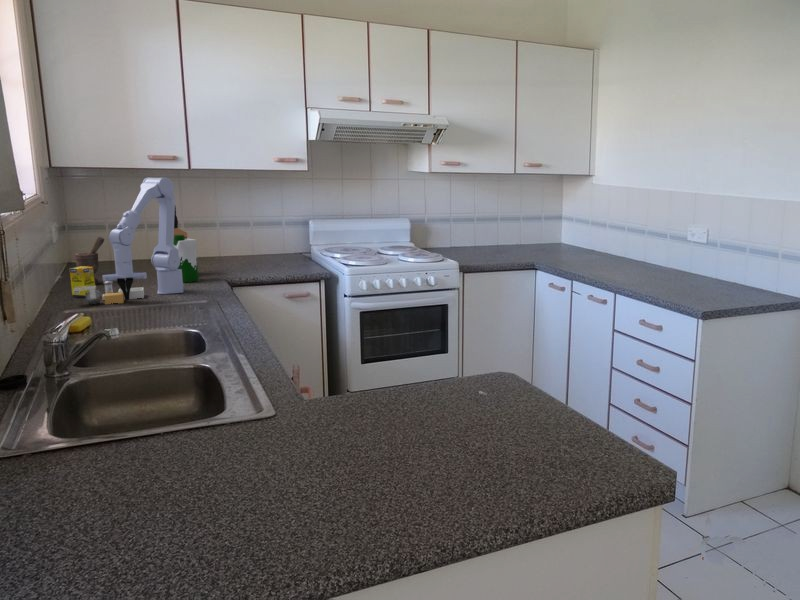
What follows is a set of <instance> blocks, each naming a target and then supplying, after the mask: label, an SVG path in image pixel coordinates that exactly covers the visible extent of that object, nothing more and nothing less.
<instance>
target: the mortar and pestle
mask: <svg viewBox="0 0 800 600" xmlns="http://www.w3.org/2000/svg"><path fill="white" fill-rule="evenodd" d="M104 242H105V238H104V237H101V236H98V237H97V238H96V239H95V241H94V244H93V246H92V247H91V250H90V251H88V252H82V251H81V252H77V253H75V254H74V257H75V258H74V259H75V265H76V266H75V267H80V266H85V267H93V271H94V281H95V285H99V284H100V282H99V281H100V280H98V278H96V277H95V274H96V273H97V272H98V270H99V252H97V251H98V250H99V249H100V248H101V247H102V246H103V243H104Z"/></svg>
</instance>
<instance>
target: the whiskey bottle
mask: <svg viewBox="0 0 800 600" xmlns="http://www.w3.org/2000/svg"><path fill="white" fill-rule="evenodd" d="M188 234H189V233H188V232H187V231H186V230H184V229H182V228H180V227H179V220H178V217H177V206H176V205H175V215H174V235H184V239H188V236H189V235H188ZM164 253H167V252H164Z"/></svg>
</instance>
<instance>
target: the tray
mask: <svg viewBox="0 0 800 600" xmlns="http://www.w3.org/2000/svg"><path fill="white" fill-rule="evenodd" d="M144 290H145V289H144V286H142V287H141V286H140V287H131V289H130V293H129V300H138V299H137V298H142V299H144V298H145V291H144ZM126 292H127V290H126ZM117 293H122V290H121V288H119V289H118V291H117ZM124 301H126V300H125V297H124Z"/></svg>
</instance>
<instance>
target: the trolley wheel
mask: <svg viewBox="0 0 800 600" xmlns="http://www.w3.org/2000/svg"><path fill="white" fill-rule="evenodd" d="M83 290H89V292H88V293H87V294H86V297H85V301H86V303H88V304H90V305H92V304H95V305H97V304H99V303H100V302H101V300H102V295H103V294H102V293H101V292H100V291H99V290H97V285H95V286H80V287H75V288H74V291H83Z"/></svg>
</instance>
